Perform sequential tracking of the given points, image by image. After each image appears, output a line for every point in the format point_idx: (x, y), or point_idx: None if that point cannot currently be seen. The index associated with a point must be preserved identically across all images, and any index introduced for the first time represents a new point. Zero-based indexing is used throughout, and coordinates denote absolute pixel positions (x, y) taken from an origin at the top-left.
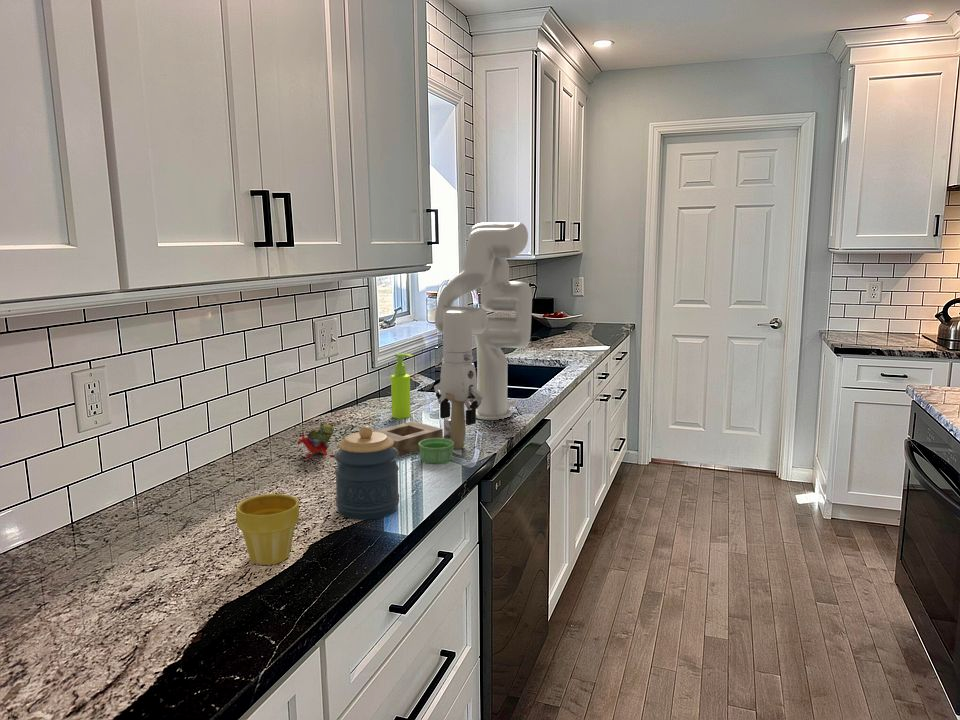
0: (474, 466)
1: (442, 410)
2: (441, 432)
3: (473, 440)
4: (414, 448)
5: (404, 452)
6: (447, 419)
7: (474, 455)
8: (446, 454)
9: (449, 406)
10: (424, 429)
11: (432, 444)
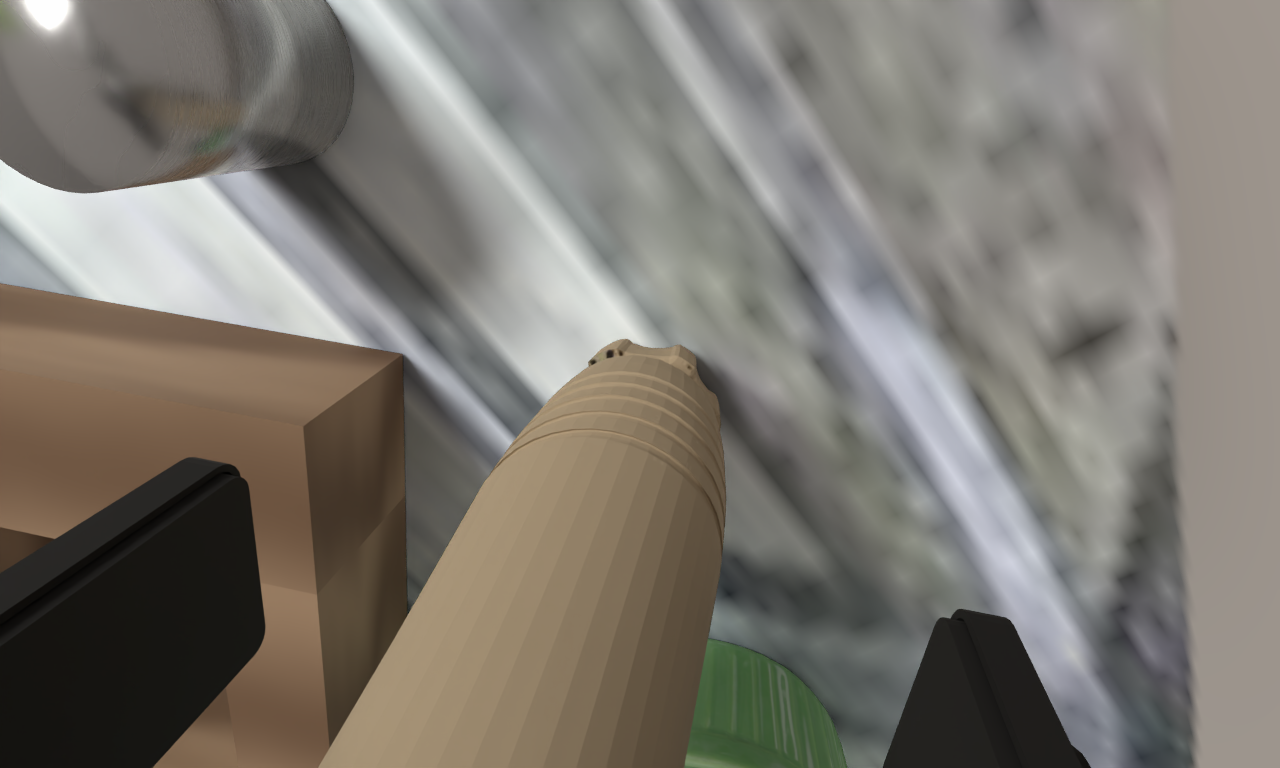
0: (1132, 763)
1: (144, 765)
2: (332, 426)
3: (612, 17)
4: None
5: None
6: (12, 93)
7: (968, 519)
8: None
9: (49, 638)
10: None
11: None
